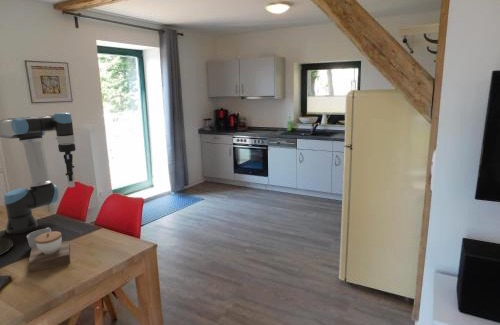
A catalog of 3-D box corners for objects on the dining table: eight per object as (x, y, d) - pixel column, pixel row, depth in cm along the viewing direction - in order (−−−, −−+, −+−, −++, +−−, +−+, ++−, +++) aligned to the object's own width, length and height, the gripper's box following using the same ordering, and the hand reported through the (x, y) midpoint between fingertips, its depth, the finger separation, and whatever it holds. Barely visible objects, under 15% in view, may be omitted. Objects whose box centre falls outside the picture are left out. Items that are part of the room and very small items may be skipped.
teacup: (41, 252, 161) (39, 238, 159) (23, 250, 163) (20, 236, 162) (62, 240, 174) (60, 226, 173) (45, 238, 177) (43, 225, 175)
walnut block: (33, 257, 158) (31, 248, 157) (70, 249, 165) (68, 240, 164) (30, 273, 144) (28, 263, 143) (70, 264, 152) (68, 254, 151)
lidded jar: (68, 247, 157) (65, 230, 154) (48, 258, 147) (44, 240, 145) (53, 243, 161) (50, 226, 158) (32, 254, 151) (28, 236, 149)
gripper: (58, 140, 172) (64, 178, 177) (56, 148, 150) (63, 191, 155) (74, 139, 175) (79, 176, 180) (74, 146, 154) (80, 188, 159)
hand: (71, 183), depth 168 cm, fingers open, 13 cm apart
